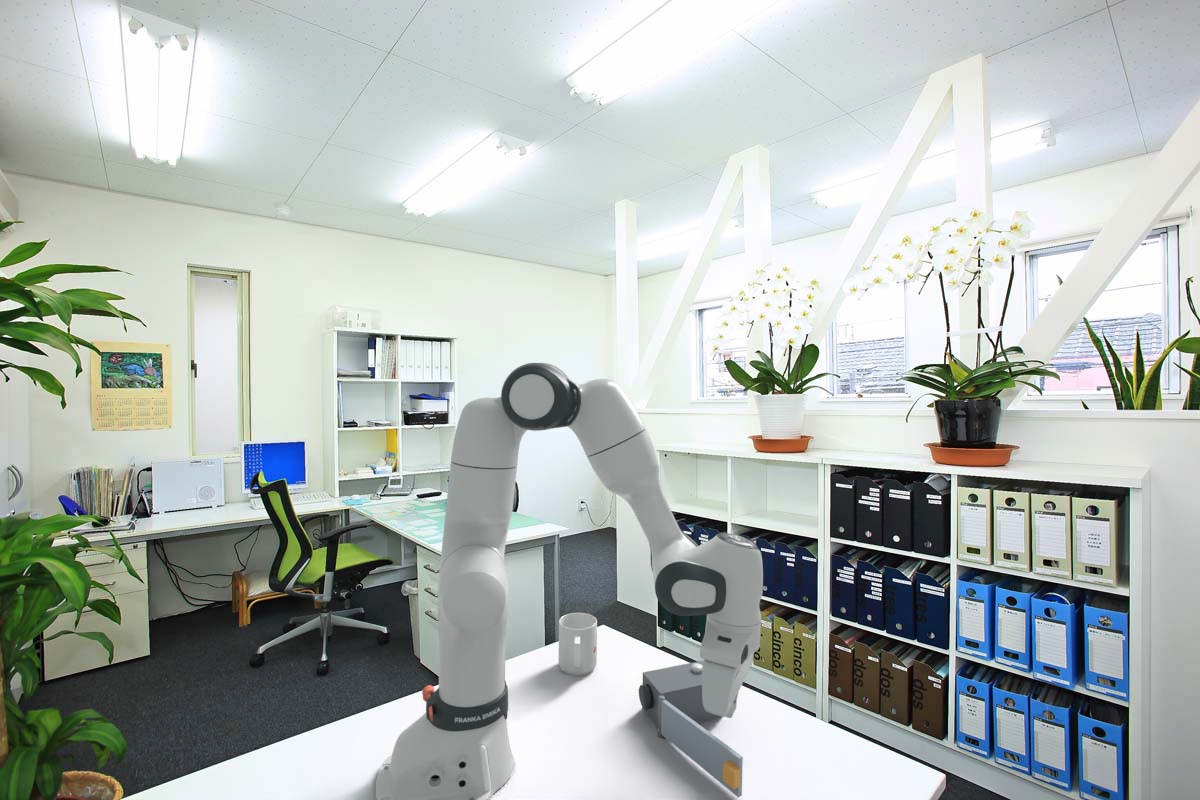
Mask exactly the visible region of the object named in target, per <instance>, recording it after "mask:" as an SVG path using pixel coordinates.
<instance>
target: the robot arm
mask: <svg viewBox="0 0 1200 800" xmlns="http://www.w3.org/2000/svg"><path fill="white" fill-rule="evenodd" d="M500 392H501V393H500V396H499V397H480V398H476V399H473V400H471V401H469V402H467V404H465V405H464V407H463V408H462V410H461V412H460V416H459V419H458V423H457V424H456V425H457V426H456V428H455V429H456V430H455V434H454V437H453V442H452V443H453V444H452V449H451V450H452V451H451V456H450V466H449V475H448V476H449V477H448V485H447V496H446V507H445V514H444V515H445V516H444V525H443V533H442V534H443V535H442V544H441V545H442V546H441V553H440V554H441V555H440V562H439V564H440V565H439V576H438V583H437V584H438V585H437V586H438V587H437V618H438V620H437V623H438V624H437V625H438V626H437V628H438V631H437V632H438V688H437V689H436V690H435V688H434V687H433V685H430V684H429V685H426V686H424V687H423V689H422V690H421V693H422V700H423V701H424V702H425V713H424V714H423V715H421V716H420V717H419V718H417V719H416V720H415V721H414V722H412V723H411V724H410V725H409V726H408V727H407V728H405V729H403V731H402V732H401V733H400V734H399V735H398V737H397V740H396V741H395V745H394V746H393V749H392V750H393V751H392V755H389V756H388V757H387V758H386V759H385V760H384V761H383V763H382V764H381V766H380V768H379V770H378V772H377V776H376V779H375V780H376V781H375V789H374V790H375V791H374V793H375V794H374V797H375V799H374V800H491V798H492V797H493V796H494V793H496V792H498V790H499V789H500V788H502V787H503V786H504V785H505V784H506V783H507V782H508V780H509V779H510V778H511V776H512V774H513V772H514V770H515V758H514V755H513V752H512V749H511V744H510V739H509V733H508V726H507V725H508V724H507V719H508V712H509V689H508V685H507V682H506V638H507V630H508V616H509V615H508V613H509V598H510V597H509V596H510V595H509V589H510V588H509V587H510V583H509V578H508V574H507V570H506V564H505V552H506V544H507V539H508V533H509V528H510V522H511V517H512V514H513V510H514V502H515V500H514V499H515V490H516V478H517V472H518V471H517V470H518V459H519V449H520V445H521V441H522V438H523V436H524V434H525V433H526V432H527V431H533V432H538V431H545V430H546V431H547V430H553V429H559V428H565V427H566V428H569V429H570V430H572V432H573V433H574V435H575V436H576V437H577V440H579V443H580V445H581V447H582V449H583V452H584V453H585V456H586V458H587V460H588V462H589V464H590V465H591V468H592V469H593V471H594V472H595V475H596V476H597V477H598V479H599V480H600V482H601V483H602V484H603V486H604V487H605V488H606V490H607V491H609V492H611V493H612V494H615V495H617V496H619V497H621V498H622V499H623V500H624V501H625V502H626V503H627V504H628V505H629V506H630V508H631V509H632V511H633V513H634V515H635V517H636V519H637V521H638V523H639V525H640V526H641V529H642V531H643V533H644V535H645V537H646V538H647V541H648V544H649V549H650V568H651V571H652V577H653V584H654V585H653V587H654V591H655V595H656V598H657V601H658V602H659V604H660V605H661V607H663V608H664V609H665V610H666V611H667V612H669V613H671V614H672V615H675V616H680V617H693V616H704V615H706V623H705V630H704V631H705V632H704V635H703V638H702V640H701V644H700V646H699V647H700V648H699V657H700V658H701V659H703V668H702V701H703V706H704V709H705V710H706V711H707V712H709V713H712V714H715V715H718V716H722V717H721V718H728V719H732V718H733V716H734V713H735V711H736V710H737V703H738V696H739V692H740V689H741V687H742V685H743V684H744V682H745V679H746V677H747V675H748V674H749V671H750V669H751V667H752V665H753V661H754V656H755V655H754V654H755V652H757V651H758V650H759V649H760V646H761V629H762V628H761V627H762V613H761V609H760V602H761V600H762V597H763V593H764V591H763V588H764V568H763V567H764V566H763V557H762V552H761V550H760V549H759V547H758V546H757V544H755V543H754V542H753V541H751V540H750V539H748V538H746V537H744V536H742V535H738V534H734V533H729V532H725V533H723V532H722V533H721V532H720V533H717V534H716V535H715V536H714V537H713V538H711V539H709V540H708V541H706V542H704V543H702V544H700V545H698V544H697V542H696V541H695V540H694V539H692V538H691V537H690V536H689V535H688V534H687V533H685V532H684V530H682V528H681V527H680V526H679V523H678V522H677V519H676V517H675V515H674V514H673V512H672V509H671V507H670V505H669V504H668V502H667V499H666V497H665V495H664V493H663V490H662V487H661V484H660V466H659V461H658V458H657V453H656V450H655V448H654V444H653V441H652V440H651V437H650V434H649V432H648V429H647V428H646V425H645V424H644V422H643V420H642V418H641V416H640V414H639V412H638V411H637V409H636V408H635V406H634V404H633V402H632V401H631V400H630V398H629V396H628V395H627V394H626V393H625V391H624V390H623V388H622V387H621V386H620V384H618V382H616V381H614V380H613V379H610V378H609V379H608V378H598V379H597V378H596V379H594V380H592V379H591V380H590V381H589V380H588V381H587V382H584V383H581V384H580V383H579V384H577V383H576V382H574V381H573V380H572V379H570V378H569V377H568V375H567V374H566V373H565V372H564V371H563V370H562V369H560V368H559V367H558V366H556V365H553V364H550V363H545V362H530V363H525V364H522V365H520V366H518V367H517V368H515V369H513V371H511V373H509V374H508V375H507V377H506V379H505V381H504V382H503V384H502V388H501V391H500Z"/></svg>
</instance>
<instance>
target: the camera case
mask: <svg viewBox="0 0 1200 800" xmlns="http://www.w3.org/2000/svg"><path fill="white" fill-rule="evenodd" d="M703 662H704V660H699V661H694V662H690V663H689V662H688V663H684V664H679V665H674V666H669V667H663V668H658V669H655V670H647V671H643V672H642V684H640V685H639V687H638V698H639V702H640V705H641V707H642V710H643V711H644V712H645V714H646V715H647V717H648V718H649V719H650V721H651V722H652V723H653V725H654V726H655V728H656V729H657V730H658V697H659V696H664V697H665V700H666V701H668V702H669V703H670V704H672V705H673V706H675V707H676V708H677V709H679V710H680V711H681V712H683V713H684V714H685V715H687V716H688V717H689V718H691V719H692V720H694V721H695V722H696V723H698V724H699V723H703V722H707V721H711V720H715V719H719V718H720V719H721V718H723V717H722V716H718V715H715V714H712V713H709V712H707V711H706V710H705V709H704V706H703V701H702V668H703Z"/></svg>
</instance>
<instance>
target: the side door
mask: <svg viewBox="0 0 1200 800" xmlns="http://www.w3.org/2000/svg"><path fill="white" fill-rule="evenodd" d="M657 737H658V738H661V739H662V738H666V740H668V742H670V743H671V744H673V746H675V747H677V749H679V750H680V751H681V752H683V753H684V755H686V756H687V757H688V758H690V759H691V760H692V761H693V762H695V763H696V764H697V765H698V766H699V767H700V768H702V769H703V770H704V771H706V773H708V774H709V775H710V776H712V777H713V778H714V779H715V780H716V781H718V782H719V783H720V784H722V786H724V787H725V788H726V789H728V790H729V791H730V792H731V793H732V794H734V795H735V796H736V797H737V798H740V797H741V796H742V795H743V765H744V764H743V760H744V759H743V755H741V754H740V753H739V752H737V751H736V750H735V749H733V748H732V747H730V746H729V745H727V744H726V743H724V741H722V740H721V739H720V738H718V737H717V736H716V735H714V734H712V733H711V732H710V731H708V730H707V729H706V728H705V727H703V726H702V725H700V724H699V723H696V722H695V721H694V720H692V719H691V718H689V717H688V716H687V715H685V714H684V713H683V712H681V711H680V710H679V709H677V708H676V707H675V706H673V705H672V704H670V703H669V702H668V701H666V700H665V697H664V696H659V697H658V729H657Z"/></svg>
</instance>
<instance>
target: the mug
mask: <svg viewBox="0 0 1200 800" xmlns="http://www.w3.org/2000/svg"><path fill="white" fill-rule="evenodd" d="M597 646H598V620H597V617H595V616H594V615H592V614H590V613H585V612H572V613H568V614H564V615H563V616H561V617H560V618H559V620H558V667H559V669H560V670H562V671H563V673H565V674H567V675H569V676H573V677H581V676H586V675H588V674H590V673H591V672H592V671H593V670H594V669H595V668H596V665H597V664H598V663H597V659H598V658H597V655H598V653H597V651H598V647H597Z"/></svg>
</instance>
